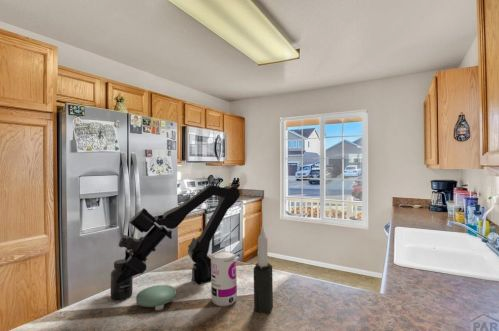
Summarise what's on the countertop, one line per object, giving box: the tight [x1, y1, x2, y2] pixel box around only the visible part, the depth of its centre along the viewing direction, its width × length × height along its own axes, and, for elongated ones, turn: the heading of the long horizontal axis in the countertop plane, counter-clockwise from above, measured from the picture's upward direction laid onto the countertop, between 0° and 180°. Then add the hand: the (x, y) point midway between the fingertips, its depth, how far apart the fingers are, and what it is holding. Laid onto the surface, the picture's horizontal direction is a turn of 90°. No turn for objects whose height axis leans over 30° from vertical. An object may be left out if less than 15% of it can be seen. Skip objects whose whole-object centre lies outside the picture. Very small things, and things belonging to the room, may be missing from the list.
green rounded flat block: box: [135, 284, 177, 311], centre depth 86 cm, size 12×12×3 cm
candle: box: [253, 226, 274, 315], centre depth 81 cm, size 5×5×25 cm
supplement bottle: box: [110, 258, 134, 302], centre depth 90 cm, size 7×7×12 cm
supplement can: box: [210, 250, 238, 307], centre depth 86 cm, size 8×8×15 cm
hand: (117, 277), depth 90 cm, fingers open, 8 cm apart
